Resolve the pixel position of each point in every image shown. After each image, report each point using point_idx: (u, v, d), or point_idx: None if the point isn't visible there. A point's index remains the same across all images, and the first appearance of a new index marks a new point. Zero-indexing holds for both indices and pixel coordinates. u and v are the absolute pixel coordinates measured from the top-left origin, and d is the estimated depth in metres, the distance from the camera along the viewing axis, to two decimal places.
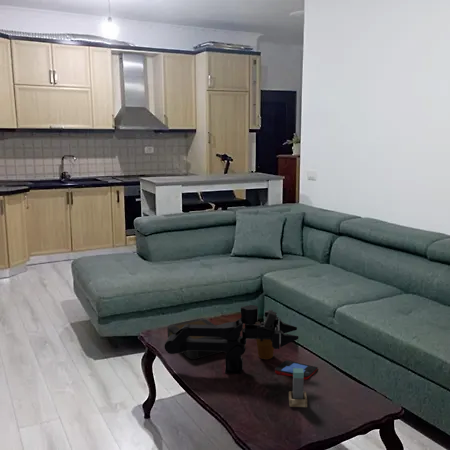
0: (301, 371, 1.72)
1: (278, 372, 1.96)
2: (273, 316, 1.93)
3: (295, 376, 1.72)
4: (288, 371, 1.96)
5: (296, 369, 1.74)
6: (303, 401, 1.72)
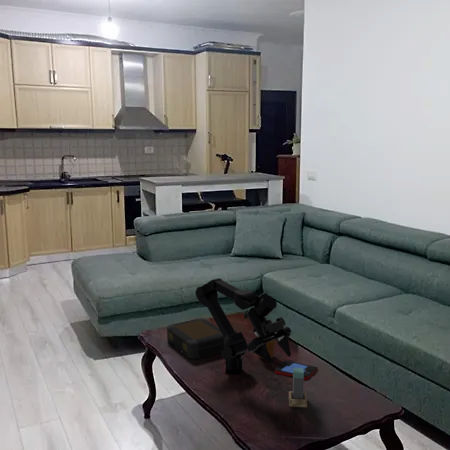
0: (301, 371, 1.72)
1: (278, 372, 1.96)
2: (274, 328, 1.76)
3: (295, 376, 1.72)
4: (288, 371, 1.96)
5: (296, 369, 1.74)
6: (303, 401, 1.72)
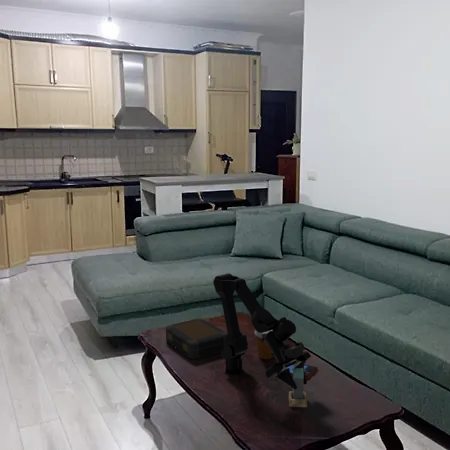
0: (301, 371, 1.72)
1: None
2: (294, 354, 1.70)
3: (295, 376, 1.72)
4: None
5: (296, 369, 1.74)
6: (303, 401, 1.72)
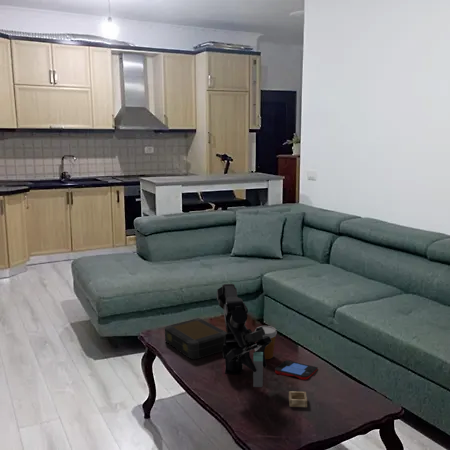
0: (261, 354, 1.80)
1: (278, 372, 1.96)
2: (253, 338, 1.78)
3: (255, 359, 1.79)
4: (288, 371, 1.96)
5: (256, 352, 1.81)
6: (303, 401, 1.72)
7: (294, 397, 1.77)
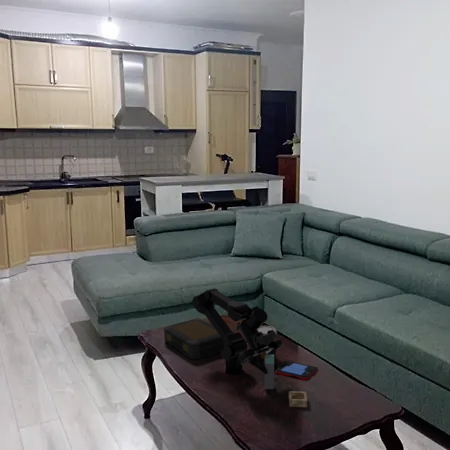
0: (272, 357, 1.81)
1: (278, 372, 1.96)
2: (264, 341, 1.80)
3: (266, 362, 1.81)
4: (288, 371, 1.96)
5: (267, 355, 1.83)
6: (303, 401, 1.72)
7: (294, 397, 1.77)
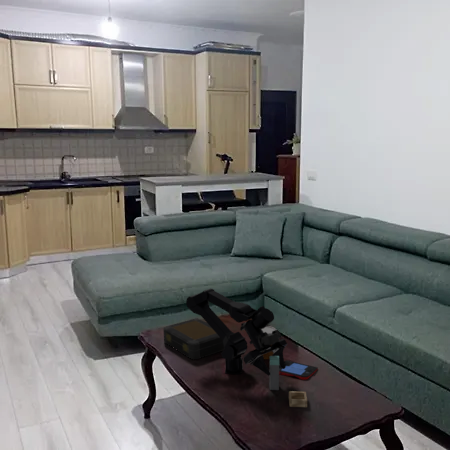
0: (277, 358, 1.83)
1: None
2: (270, 341, 1.81)
3: (271, 363, 1.82)
4: (288, 371, 1.96)
5: (272, 356, 1.84)
6: (303, 401, 1.72)
7: (294, 397, 1.77)
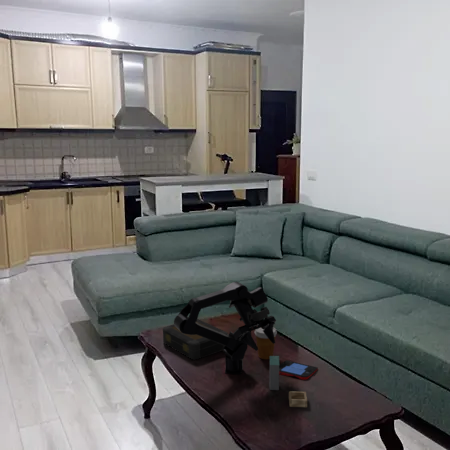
0: (277, 358, 1.83)
1: None
2: (258, 317, 1.88)
3: (271, 363, 1.82)
4: (288, 371, 1.96)
5: (272, 356, 1.84)
6: (303, 401, 1.72)
7: (294, 397, 1.77)
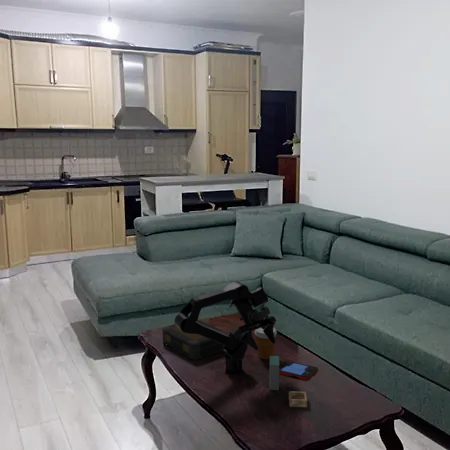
0: (277, 358, 1.83)
1: None
2: (259, 317, 1.88)
3: (271, 363, 1.82)
4: (288, 371, 1.96)
5: (272, 356, 1.84)
6: (303, 401, 1.72)
7: (294, 397, 1.77)
